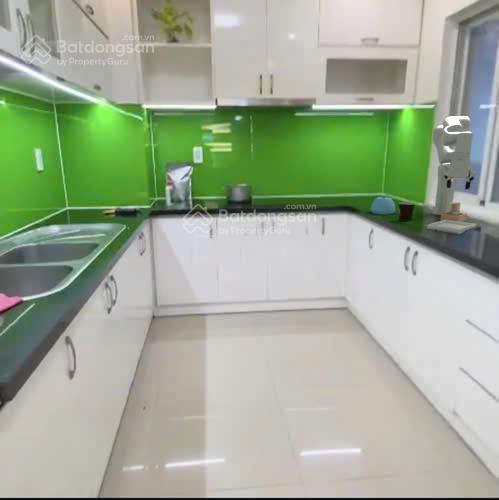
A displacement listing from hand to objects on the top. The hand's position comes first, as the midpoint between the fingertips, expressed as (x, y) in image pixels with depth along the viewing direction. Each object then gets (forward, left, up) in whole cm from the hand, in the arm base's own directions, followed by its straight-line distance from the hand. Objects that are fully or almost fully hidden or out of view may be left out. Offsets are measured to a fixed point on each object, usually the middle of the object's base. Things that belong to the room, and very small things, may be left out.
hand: (457, 188), depth 210 cm
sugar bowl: (-43, -2, -19) cm, 47 cm away
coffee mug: (-20, -16, -19) cm, 32 cm away
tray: (+7, -17, -19) cm, 26 cm away
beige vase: (0, 0, -18) cm, 18 cm away
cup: (0, 0, -19) cm, 19 cm away
